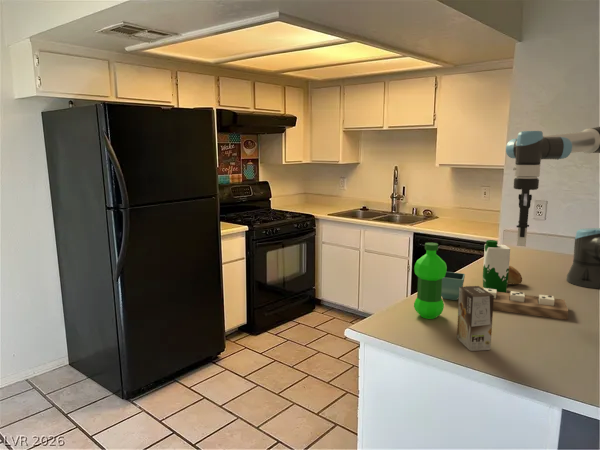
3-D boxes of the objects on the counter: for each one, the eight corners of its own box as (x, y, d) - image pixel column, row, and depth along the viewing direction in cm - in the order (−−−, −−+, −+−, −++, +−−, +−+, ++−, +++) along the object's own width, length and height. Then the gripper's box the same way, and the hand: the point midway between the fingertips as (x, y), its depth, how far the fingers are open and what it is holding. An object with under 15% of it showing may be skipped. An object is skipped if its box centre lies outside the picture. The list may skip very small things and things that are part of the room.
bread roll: (520, 288, 175) (522, 269, 174) (480, 283, 183) (482, 265, 181) (522, 282, 183) (524, 264, 182) (484, 277, 191) (485, 260, 189)
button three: (523, 302, 155) (524, 292, 155) (523, 306, 152) (524, 295, 151) (509, 300, 157) (510, 290, 157) (509, 304, 153) (510, 294, 153)
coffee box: (491, 350, 122) (495, 295, 119) (469, 351, 121) (473, 296, 119) (475, 336, 131) (479, 285, 128) (455, 337, 130) (458, 286, 128)
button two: (552, 305, 152) (553, 295, 151) (553, 309, 148) (554, 299, 147) (538, 303, 153) (539, 293, 153) (538, 307, 150) (539, 297, 149)
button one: (496, 298, 159) (496, 288, 159) (495, 302, 155) (496, 292, 155) (483, 296, 161) (483, 287, 161) (482, 300, 157) (482, 290, 157)
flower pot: (463, 295, 167) (465, 273, 166) (461, 303, 159) (463, 279, 158) (440, 293, 171) (441, 270, 169) (437, 299, 163) (438, 276, 162)
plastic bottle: (434, 309, 153) (437, 240, 149) (450, 320, 143) (454, 246, 139) (407, 311, 151) (410, 241, 147) (422, 323, 141) (425, 248, 137)
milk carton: (480, 286, 179) (483, 238, 175) (503, 287, 177) (507, 239, 173) (484, 293, 170) (487, 243, 167) (509, 294, 168) (513, 243, 165)
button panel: (563, 307, 154) (564, 299, 153) (567, 319, 143) (568, 311, 142) (472, 296, 166) (473, 288, 166) (469, 306, 156) (470, 298, 155)
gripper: (514, 176, 154) (509, 241, 158) (514, 178, 143) (509, 248, 147) (538, 176, 151) (532, 243, 155) (540, 178, 140) (534, 250, 144)
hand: (521, 245), depth 151 cm, fingers closed
